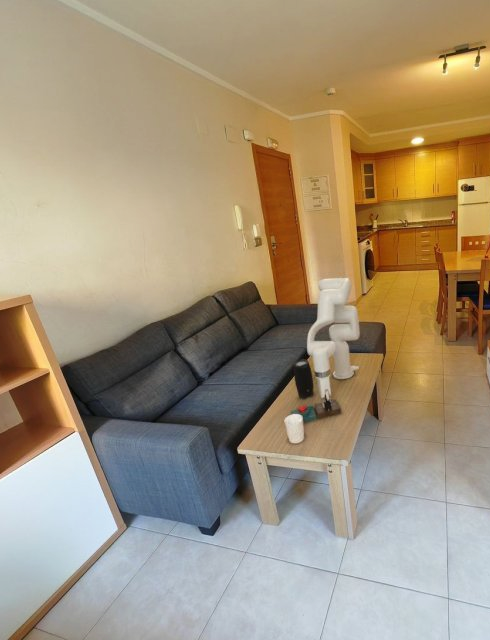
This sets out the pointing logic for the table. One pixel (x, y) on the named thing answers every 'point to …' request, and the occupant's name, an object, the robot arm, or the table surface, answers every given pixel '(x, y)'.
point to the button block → (306, 414)
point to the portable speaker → (303, 378)
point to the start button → (302, 409)
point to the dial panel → (327, 412)
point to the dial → (323, 401)
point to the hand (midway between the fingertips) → (326, 405)
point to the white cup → (294, 428)
